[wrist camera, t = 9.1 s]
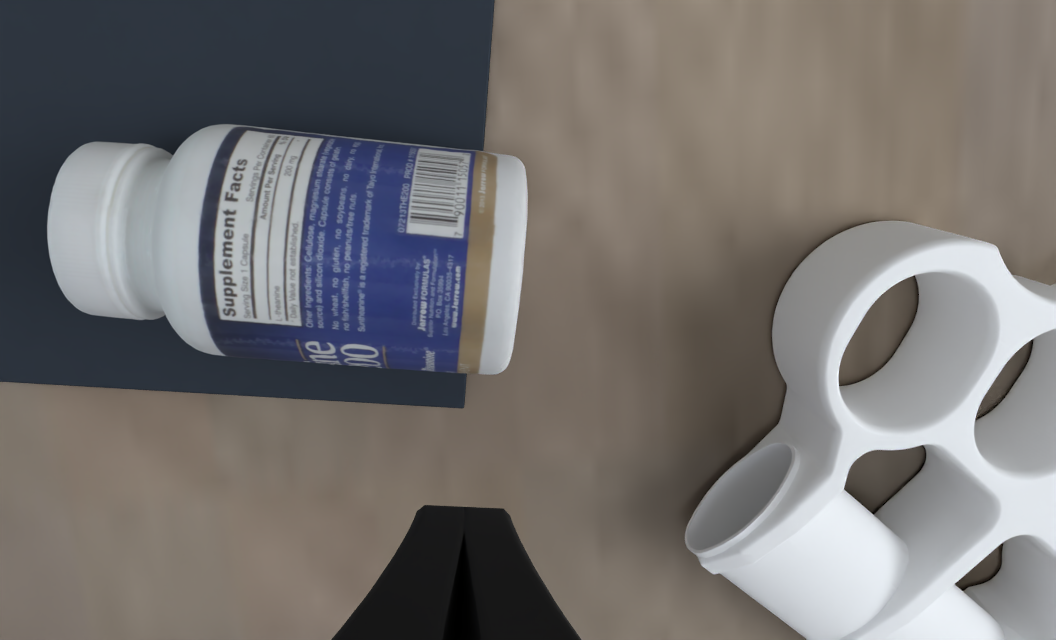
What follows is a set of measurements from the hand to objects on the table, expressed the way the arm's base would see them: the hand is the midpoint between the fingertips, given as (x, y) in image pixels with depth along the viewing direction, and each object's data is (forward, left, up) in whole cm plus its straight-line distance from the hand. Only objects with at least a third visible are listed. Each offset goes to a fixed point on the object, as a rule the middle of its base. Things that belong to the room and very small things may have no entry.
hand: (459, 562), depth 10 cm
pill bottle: (+3, -1, -7) cm, 8 cm away
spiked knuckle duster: (-3, -16, -11) cm, 20 cm away
